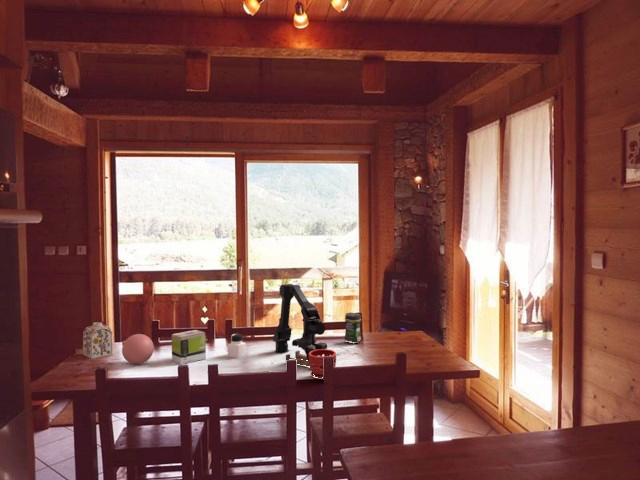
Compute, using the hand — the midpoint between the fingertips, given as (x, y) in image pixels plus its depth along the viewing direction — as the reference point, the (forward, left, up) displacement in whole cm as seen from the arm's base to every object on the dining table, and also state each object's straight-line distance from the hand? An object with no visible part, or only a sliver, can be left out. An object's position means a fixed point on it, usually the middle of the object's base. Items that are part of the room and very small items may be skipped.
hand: (309, 360), depth 250 cm
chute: (-2, 0, -2) cm, 3 cm away
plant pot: (+17, -14, -2) cm, 22 cm away
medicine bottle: (-42, -9, -2) cm, 43 cm away
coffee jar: (-3, +53, -2) cm, 53 cm away
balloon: (-77, -48, -2) cm, 91 cm away
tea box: (-58, -29, -2) cm, 65 cm away
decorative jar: (-107, -50, -2) cm, 118 cm away
